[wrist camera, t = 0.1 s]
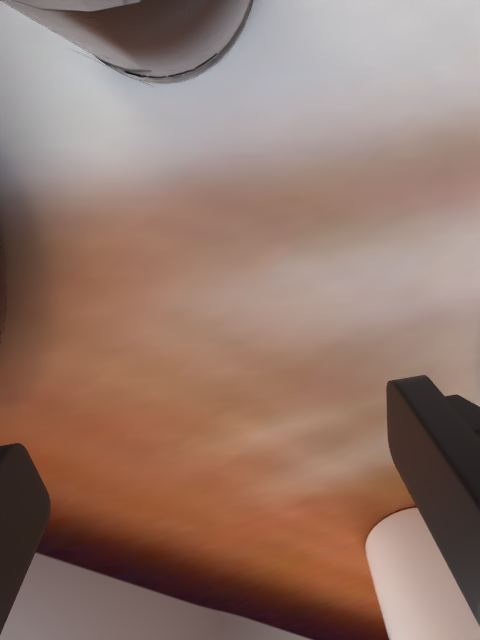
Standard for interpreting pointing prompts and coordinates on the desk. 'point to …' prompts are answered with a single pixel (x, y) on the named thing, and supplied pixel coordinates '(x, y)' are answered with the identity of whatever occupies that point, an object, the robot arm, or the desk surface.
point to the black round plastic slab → (2, 291)
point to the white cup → (416, 582)
